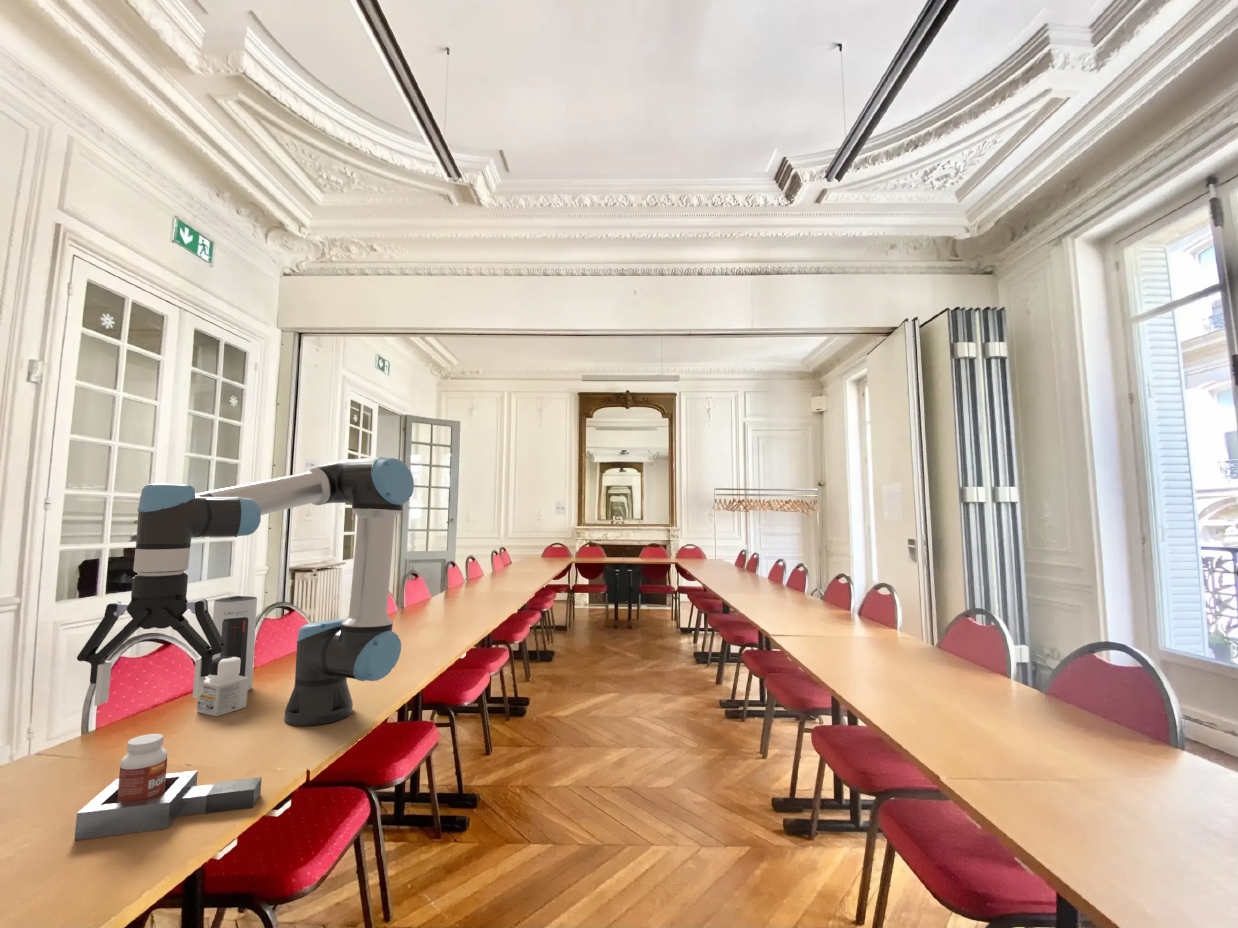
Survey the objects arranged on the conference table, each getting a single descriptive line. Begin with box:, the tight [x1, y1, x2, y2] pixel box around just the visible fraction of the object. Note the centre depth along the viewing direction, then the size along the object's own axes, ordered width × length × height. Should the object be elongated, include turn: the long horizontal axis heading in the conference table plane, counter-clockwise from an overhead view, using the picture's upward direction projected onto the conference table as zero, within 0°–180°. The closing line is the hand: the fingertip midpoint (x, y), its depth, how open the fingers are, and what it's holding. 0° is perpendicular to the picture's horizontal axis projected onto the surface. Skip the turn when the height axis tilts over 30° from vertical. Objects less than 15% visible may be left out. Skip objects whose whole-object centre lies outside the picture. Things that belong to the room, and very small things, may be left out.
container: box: [196, 656, 248, 717], centre depth 147 cm, size 8×8×13 cm
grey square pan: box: [73, 770, 262, 841], centre depth 98 cm, size 23×12×4 cm, turn 109°
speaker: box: [212, 595, 258, 692], centre depth 163 cm, size 11×10×26 cm
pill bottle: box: [117, 733, 168, 803], centre depth 96 cm, size 6×6×11 cm
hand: (150, 699), depth 98 cm, fingers open, 13 cm apart
